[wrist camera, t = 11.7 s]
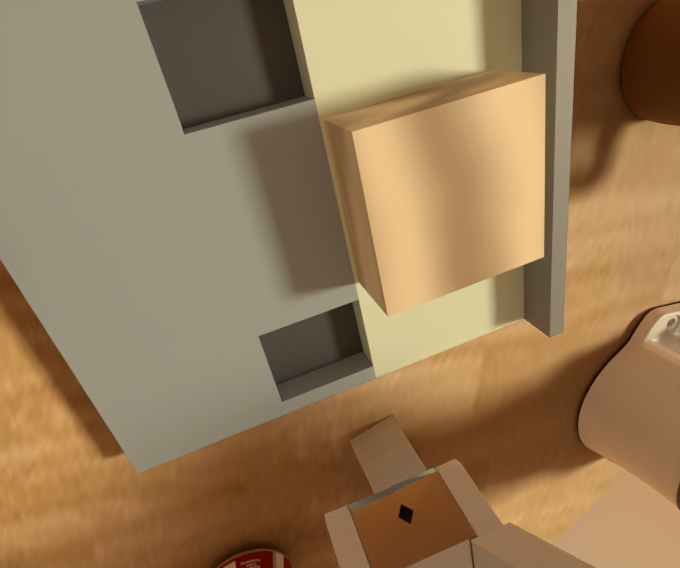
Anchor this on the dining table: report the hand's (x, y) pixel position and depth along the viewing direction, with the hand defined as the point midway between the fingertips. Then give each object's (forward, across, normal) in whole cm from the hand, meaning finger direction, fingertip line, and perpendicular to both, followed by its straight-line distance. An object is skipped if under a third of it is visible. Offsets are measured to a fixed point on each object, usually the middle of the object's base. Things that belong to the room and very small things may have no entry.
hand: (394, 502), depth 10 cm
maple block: (+16, -8, 0) cm, 18 cm away
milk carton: (+18, -4, +21) cm, 28 cm away
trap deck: (+18, -2, 0) cm, 18 cm away
